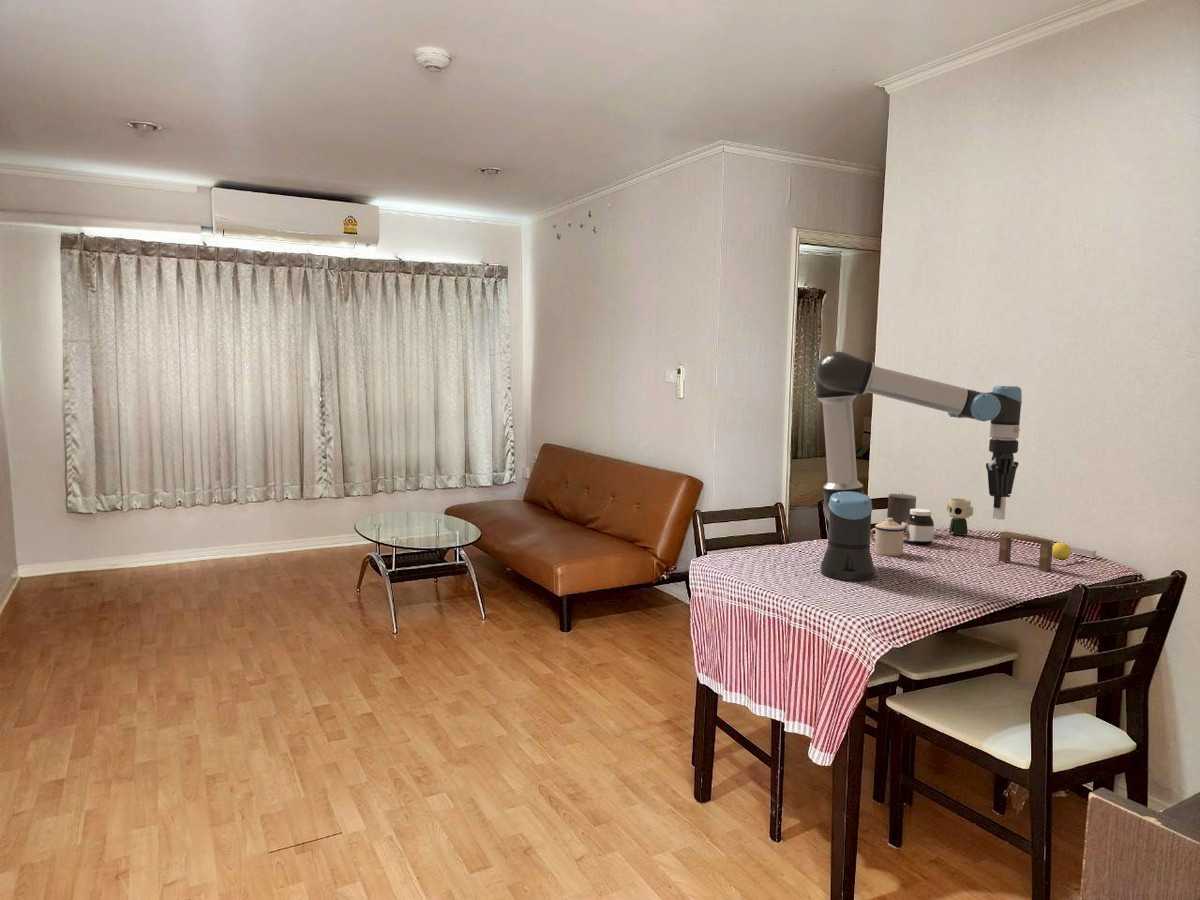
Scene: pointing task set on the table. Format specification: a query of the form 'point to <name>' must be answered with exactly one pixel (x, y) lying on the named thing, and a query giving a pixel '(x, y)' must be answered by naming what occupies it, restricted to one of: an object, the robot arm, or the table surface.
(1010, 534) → the bridge
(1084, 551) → the wall
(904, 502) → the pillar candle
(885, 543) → the teacup with lid
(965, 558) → the table surface
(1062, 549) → the ball
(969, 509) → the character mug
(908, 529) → the spread jar
